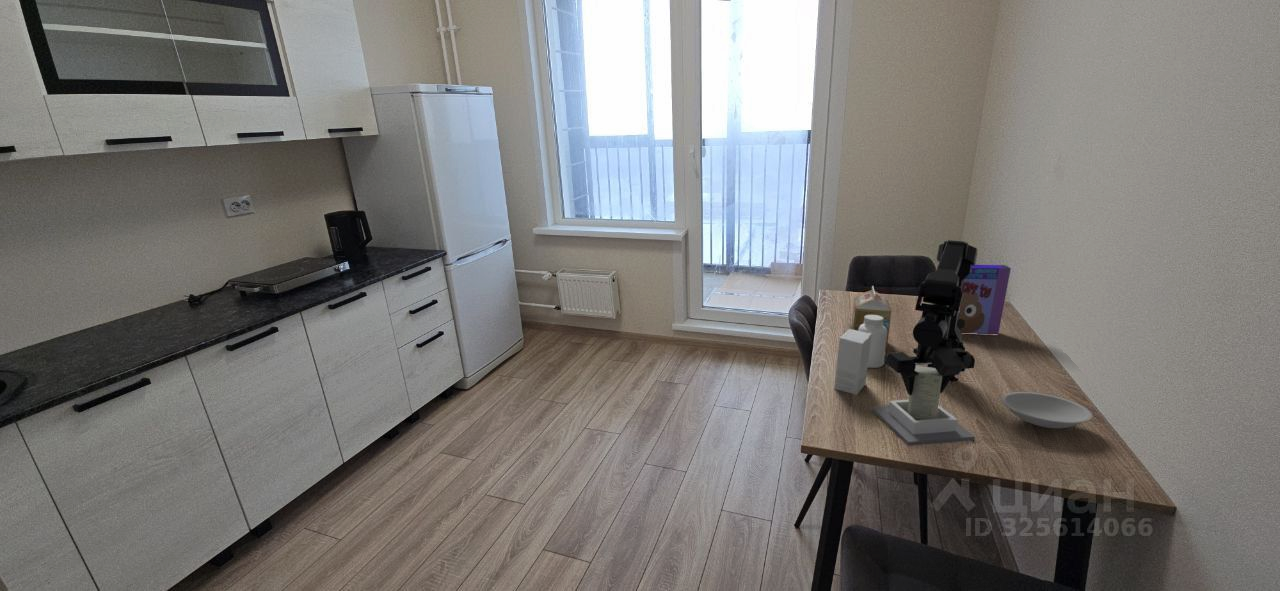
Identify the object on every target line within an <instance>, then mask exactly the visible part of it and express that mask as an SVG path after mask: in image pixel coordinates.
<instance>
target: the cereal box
mask: <svg viewBox="0 0 1280 591" xmlns="http://www.w3.org/2000/svg"><path fill="white" fill-rule="evenodd" d="M1011 270H1012V269H1011V267H1010V266H1008V265H1005V264H975V265H972V269H971V271H970V274H969V275H968V276H967V277H966V278H965V279H964V280H963V285H962V291H963V296H962V301H961V305H960V309H959V313H958V319H957V327H958V328H959V330H960V332H961V333H977V334H998V335H999V332H1000V327H1001V323H1002V318H1003V311H1004V306H1005V301H1006V295H1007V290H1008V285H1009V279H1010V274H1011Z"/></svg>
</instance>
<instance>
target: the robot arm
mask: <svg viewBox="0 0 1280 591" xmlns="http://www.w3.org/2000/svg"><path fill="white" fill-rule="evenodd" d="M936 255H937V256H936V261H937V262H938V264H937V268H936V270H934V271H931V272H929V273H928V274H927V276H926V278H925V280H924V281H922V282H921V284H920V287H919V292H918V295H917V299H916V304H915V307H914V308H915V309H914V310H915V311H919V312H922V313H921V316H920V318H919V320H918V321H917V323H916V324H915V326H914V327H913V330H912V336H913V339H914V340H915V342H916V343H917V348H914V347H913V351H912V353H913V354H915V355H916V356H909V355H908V354H906V353H905V352H903V351H902V352H901V351H900V352H899V351H898V352H897V351H896V352H888V353H887V354H885V357H884V364H885V365H886V366H888V367H890V368H891V369H892V370H893V371H894V372H896V373H897V374H900V376H901V378H902V381H903V384H904V387H905V390H906V392H907V394H908V395H912V392H913V388H914V380H915V377H916V376H917V375H918V374H919V373H918V372H916V371H915V367H916V365H921V366H926V365H927V367H932V368H935V369H936V370H937V372H938V373H939V374H940V375H942V382H941V389H940V394H942V393H943V392H944V391H945V389H946V387H947V386H948V384H949V383H950V382H958V381H959V378H958V377H956V376H958V375H960V374H961V373H962V372H965V371H966V370H967V369H968V370H969V369H975V365H976V359H975V357H974V355H972V354H971V353H970V352H969V351H967V350H966V347H965V344H964V342H963V341H962V336H963V335H962V333H961V332H960V330H959V328H958V327H957V319H958V313H959V309H960V305H961V301H962V296H963V291H962V285H963V280H964V279H965V278H966V277H967V276H968V275H969V274H970V271H971V269H972V265H977V257H978V248H977V247H975V246H973V245H970V244H969V242H966V241H963V240H951V239H948V240H944V242H943V243H942V244H939V245H938V249H937V254H936Z"/></svg>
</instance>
